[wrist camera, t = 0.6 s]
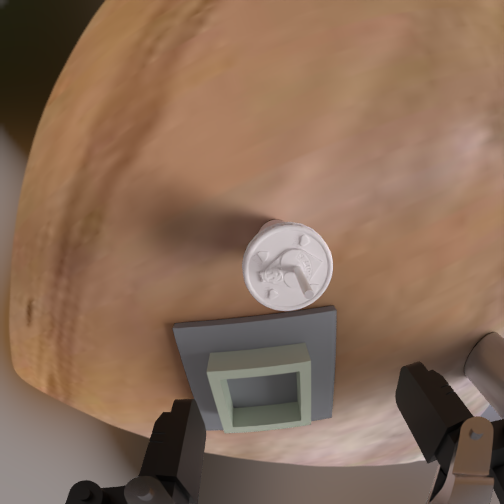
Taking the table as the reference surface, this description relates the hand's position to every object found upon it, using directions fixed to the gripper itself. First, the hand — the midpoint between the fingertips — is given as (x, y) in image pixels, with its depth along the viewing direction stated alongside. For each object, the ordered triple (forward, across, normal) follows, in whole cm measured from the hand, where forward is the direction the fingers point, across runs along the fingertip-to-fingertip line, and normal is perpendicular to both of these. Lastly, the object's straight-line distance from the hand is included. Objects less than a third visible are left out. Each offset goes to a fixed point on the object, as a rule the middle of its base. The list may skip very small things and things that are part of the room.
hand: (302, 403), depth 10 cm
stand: (+20, +2, +16) cm, 26 cm away
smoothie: (+21, -1, -1) cm, 21 cm away
